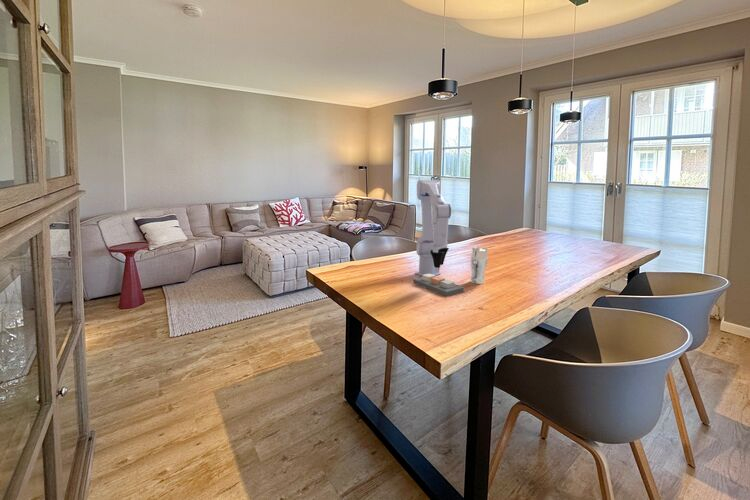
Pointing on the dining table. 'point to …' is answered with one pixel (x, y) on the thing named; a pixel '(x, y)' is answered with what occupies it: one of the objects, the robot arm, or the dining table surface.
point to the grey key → (447, 284)
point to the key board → (438, 287)
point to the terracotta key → (437, 280)
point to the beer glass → (478, 265)
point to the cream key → (427, 277)
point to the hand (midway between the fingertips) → (438, 266)
